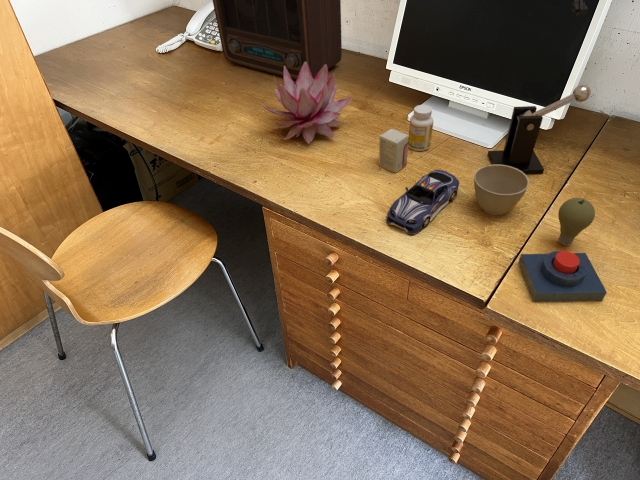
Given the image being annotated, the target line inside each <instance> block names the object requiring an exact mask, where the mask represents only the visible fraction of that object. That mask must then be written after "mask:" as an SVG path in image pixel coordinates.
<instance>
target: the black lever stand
mask: <svg viewBox="0 0 640 480" xmlns="http://www.w3.org/2000/svg"><path fill="white" fill-rule="evenodd" d="M537 109H538V108H537V106H536V105H526V106H513V109H512V114H511V118H510V122H509V126H508V131H507V134H506V139H505V142H504V147H503V150H488V152H487V157H488V159H489V160H488V161H489V162H490V165H496V164H498V165H507V166H511V167H514V168H516V169H518V170H520V171H522V172H523V173H524V174H525V175H543V174H544V172H545V168H544V166H543V164H542V163H541V161H540V159H539V157H538V156H537V154H536V152H535V150H534V149H535V147H536V143H537V141H538V137H539V134H540V133H539V132H540V129H541V125H542V122H543V120H544V118H543V116H541V115H540V116H519V120H518V119H517V117H516V116H518V115H520V114H522V113H524V112H526V111H528V110H530V111H531V113H534V112H536V111H537Z"/></svg>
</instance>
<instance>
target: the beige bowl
mask: <svg viewBox="0 0 640 480" xmlns="http://www.w3.org/2000/svg"><path fill="white" fill-rule="evenodd" d="M473 176H474V177H473V187H474V193H475V197H476V199H477V202H478V204H479V206H480V208H481V210H482V211H483V212H484V213H486V214H488V215H490V216H503V215H505V214H507V213H508V212H509V211H511V210H512V209H514V207H516V205H517V204H518V203H519V202H520V201H521V200H522V198H524V195H525V193H526V192H527V190H528V188H529V186H530V180H529V178H528V175H527V174H524V173H523V172H522V171H520V170H518V169H516V168H514V167H511V166H507V165H498V164H496V165H492V164H488V165H484V166H481V167H479V168H478V169H477V170H476V171H475V172H474V175H473Z"/></svg>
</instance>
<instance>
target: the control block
mask: <svg viewBox="0 0 640 480" xmlns="http://www.w3.org/2000/svg"><path fill="white" fill-rule="evenodd" d="M561 251H562V250H553V251H551V252H549V253H520V256H519V258H518V262H517V264H518V266H519V269H520V271H521V274H522V276H523V279H524V281H525V284H526V287H527V291H528V292H529V295H530V297H531V300H532V302H533V303H553V302H554V303H555V302H556V303H557V302H560V303H561V302H562V303H563V302H603V300H604V299H605V297H606V295H607V292H608V291H607V290H606V288H605V286H604V284H603V283H602V281H601V278H600V277H599V274H597V271H596V269H595V268H594V266H593V264H592V262H591V260H590V259H589V256H588V255H587V253H586V252H572V253H573V254H575V255H576V256H577V257H578V258H579V260H580V263H579V265H578V267H577V270H576V271H575V272H574V273H572V274H564V273H561V272H559V271H557V270H556V269H555V268H554V266H553V261H554V259H555V256H556V254H557V253H559V252H561Z"/></svg>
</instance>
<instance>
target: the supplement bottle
mask: <svg viewBox="0 0 640 480" xmlns="http://www.w3.org/2000/svg"><path fill="white" fill-rule="evenodd" d="M432 112H433V109H432V107H431V106H429V105H426V104H418V105H416V106H414V108H413V114H412V116H411V117H410V118H409V125H408V126H409V127H408V148H409V149H411V150H412V151H415V152H424V151H427V150H429V148H430V146H431V144H432V143H431V142H432V135H433V128H434V118H433V116H432V114H433V113H432Z"/></svg>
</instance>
